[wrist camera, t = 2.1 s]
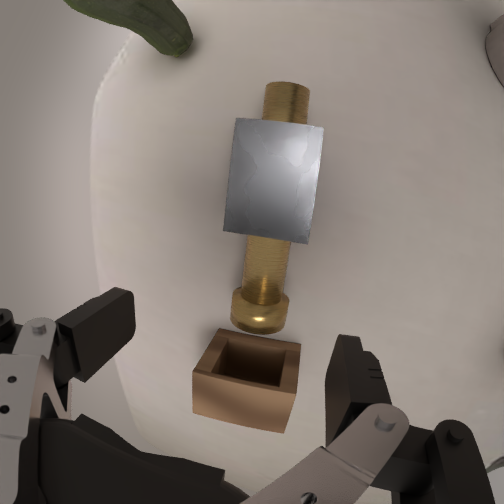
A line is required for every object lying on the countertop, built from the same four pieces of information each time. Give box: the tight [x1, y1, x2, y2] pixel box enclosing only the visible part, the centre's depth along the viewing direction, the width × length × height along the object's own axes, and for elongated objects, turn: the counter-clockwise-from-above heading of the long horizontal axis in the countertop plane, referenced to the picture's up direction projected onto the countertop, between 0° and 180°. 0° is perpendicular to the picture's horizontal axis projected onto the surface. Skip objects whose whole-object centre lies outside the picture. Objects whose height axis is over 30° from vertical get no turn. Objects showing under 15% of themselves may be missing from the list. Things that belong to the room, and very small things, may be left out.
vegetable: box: [64, 0, 193, 57], centre depth 12 cm, size 4×4×20 cm
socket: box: [192, 328, 301, 433], centre depth 24 cm, size 5×8×7 cm, turn 83°
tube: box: [230, 82, 310, 335], centre depth 19 cm, size 17×4×4 cm, turn 173°
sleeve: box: [223, 118, 324, 244], centre depth 19 cm, size 7×5×7 cm
